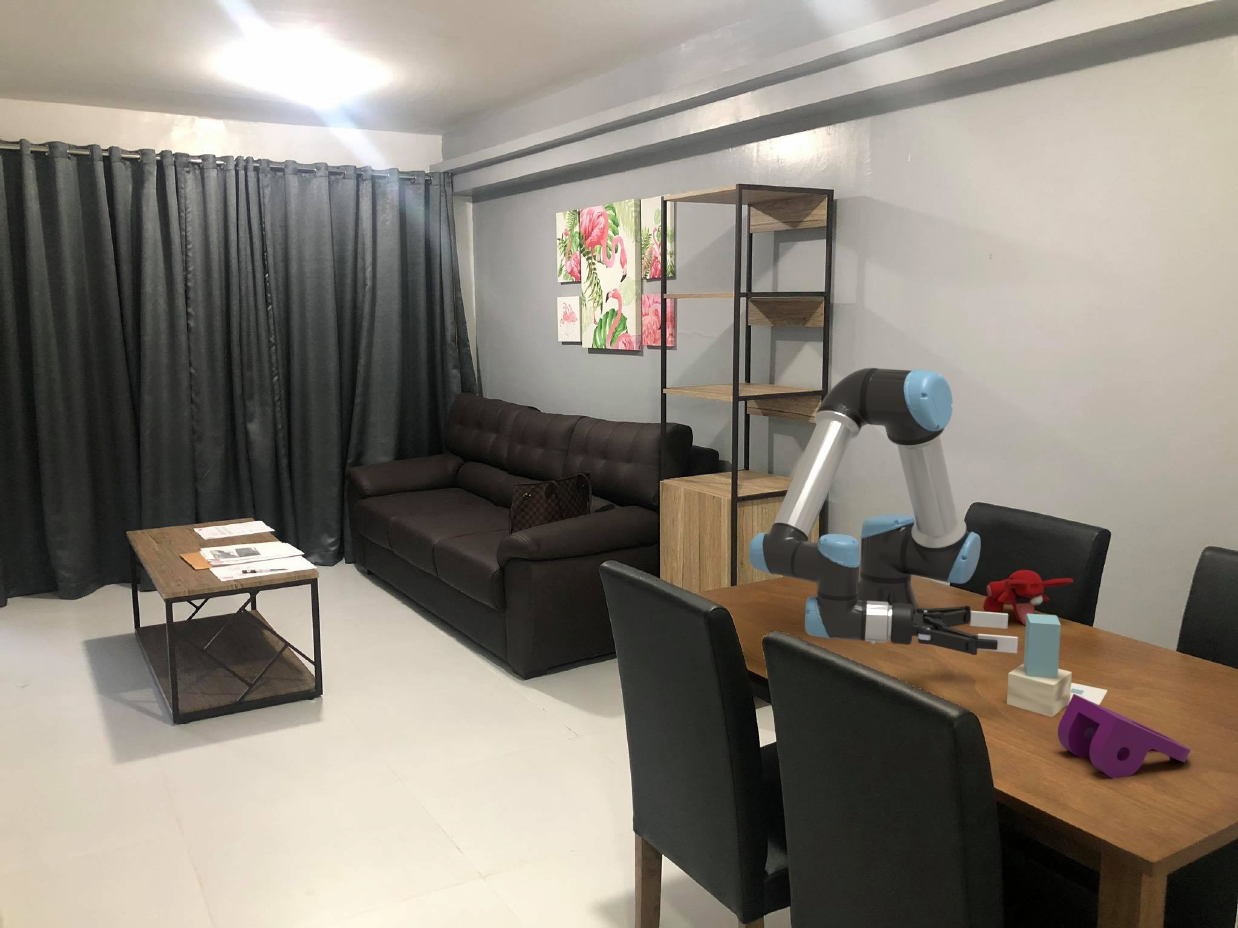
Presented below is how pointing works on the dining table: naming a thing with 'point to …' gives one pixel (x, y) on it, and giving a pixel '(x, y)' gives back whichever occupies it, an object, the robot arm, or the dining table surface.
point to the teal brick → (1042, 645)
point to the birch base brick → (1039, 691)
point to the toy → (1019, 593)
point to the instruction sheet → (1088, 693)
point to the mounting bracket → (1111, 738)
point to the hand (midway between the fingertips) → (1012, 632)
